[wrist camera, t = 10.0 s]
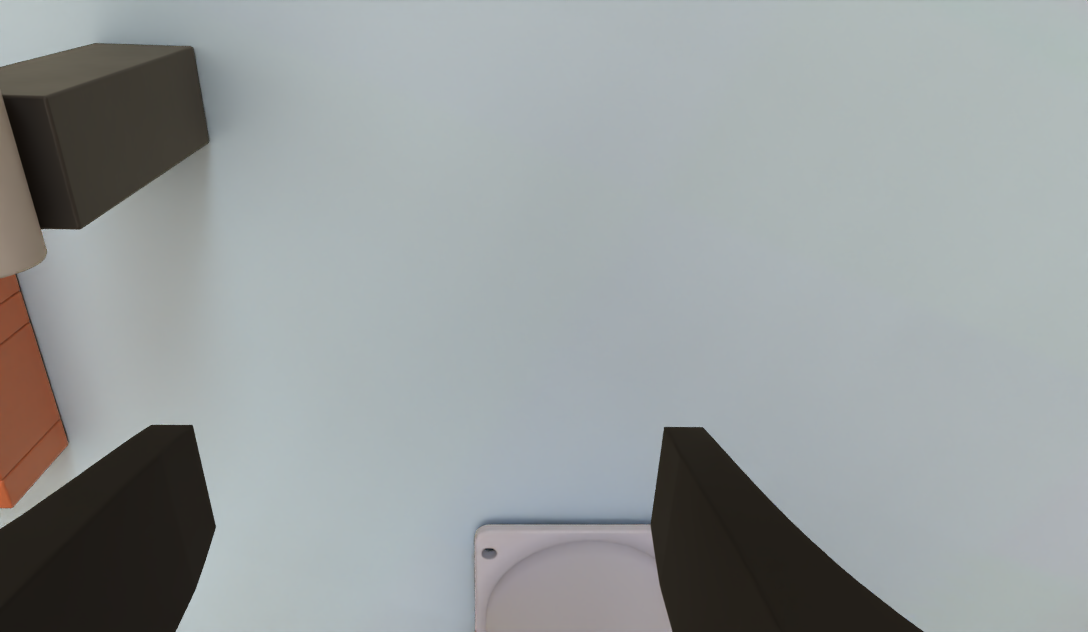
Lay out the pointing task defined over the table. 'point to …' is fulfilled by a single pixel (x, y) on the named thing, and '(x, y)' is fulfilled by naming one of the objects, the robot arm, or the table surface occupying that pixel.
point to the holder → (23, 402)
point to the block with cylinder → (89, 136)
